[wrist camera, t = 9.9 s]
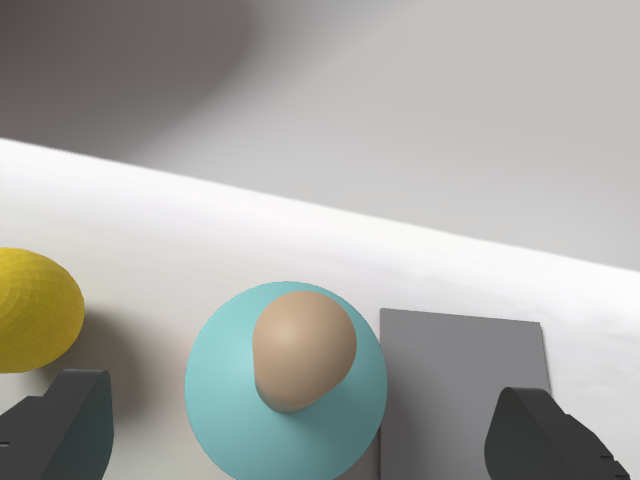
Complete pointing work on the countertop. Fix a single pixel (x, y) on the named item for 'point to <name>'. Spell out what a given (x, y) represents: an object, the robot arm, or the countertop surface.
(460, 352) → the mat
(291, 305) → the lid
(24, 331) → the lemon
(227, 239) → the countertop surface
